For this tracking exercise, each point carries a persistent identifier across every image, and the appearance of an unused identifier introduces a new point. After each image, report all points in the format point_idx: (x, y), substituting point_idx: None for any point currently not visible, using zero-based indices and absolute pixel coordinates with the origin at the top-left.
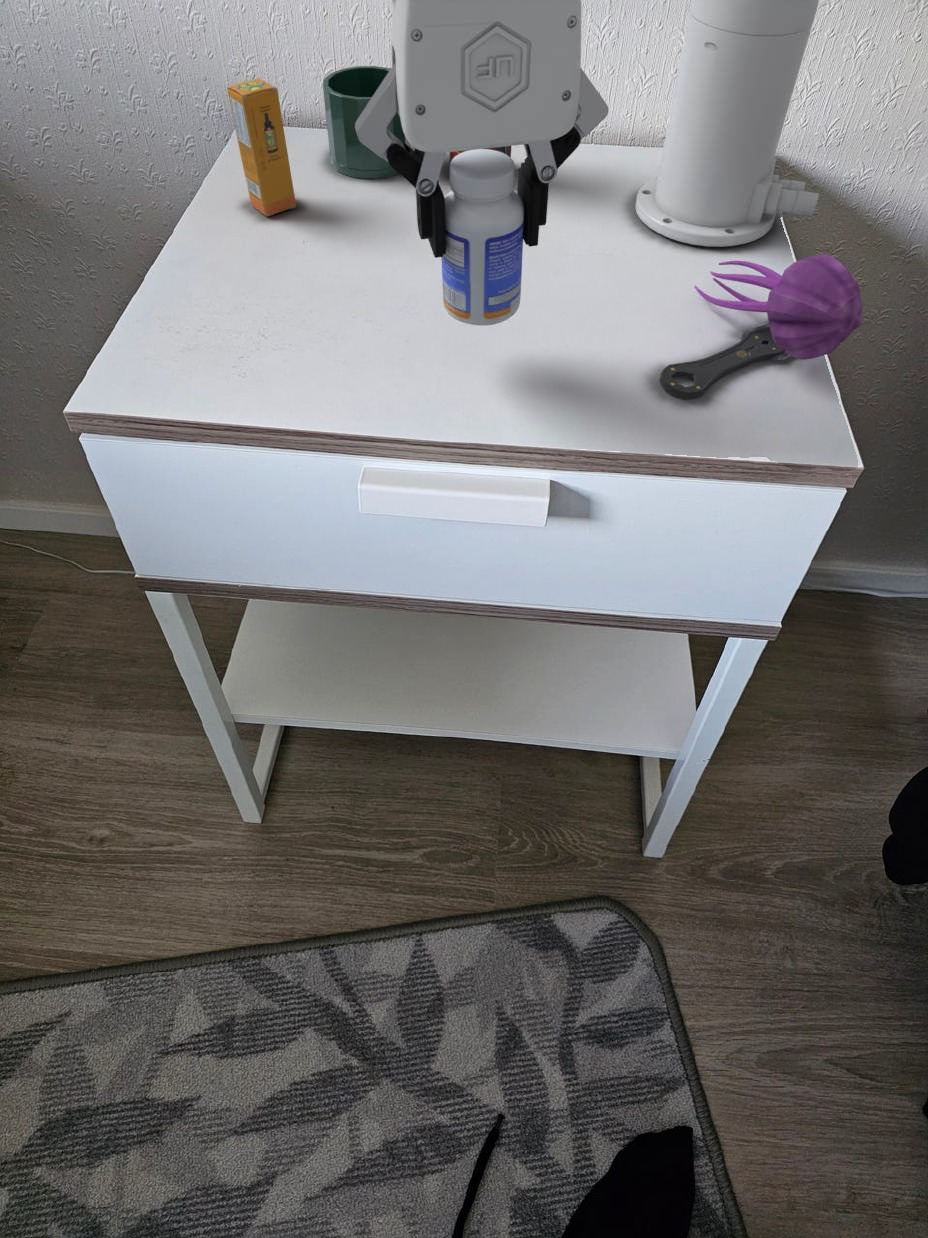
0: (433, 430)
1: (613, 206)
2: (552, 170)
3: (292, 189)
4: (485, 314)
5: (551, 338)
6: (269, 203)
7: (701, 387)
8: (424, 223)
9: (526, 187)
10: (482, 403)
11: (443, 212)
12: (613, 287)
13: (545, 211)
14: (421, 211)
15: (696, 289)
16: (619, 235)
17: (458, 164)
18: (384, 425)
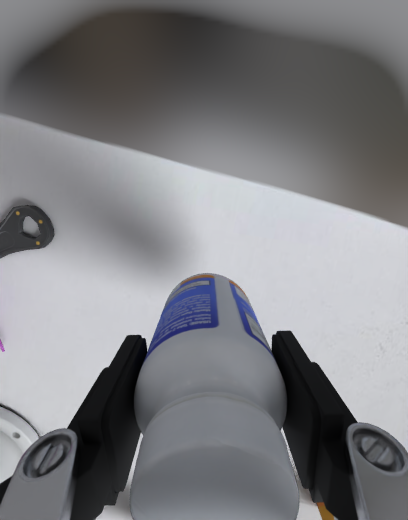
0: (268, 198)
1: None
2: (34, 461)
3: (321, 513)
4: (212, 276)
5: (140, 308)
6: None
7: (14, 212)
8: (322, 379)
9: (117, 429)
10: (216, 229)
11: (303, 385)
12: (77, 365)
13: (97, 382)
14: (339, 399)
15: (3, 347)
16: (62, 427)
17: (277, 515)
18: (310, 212)
